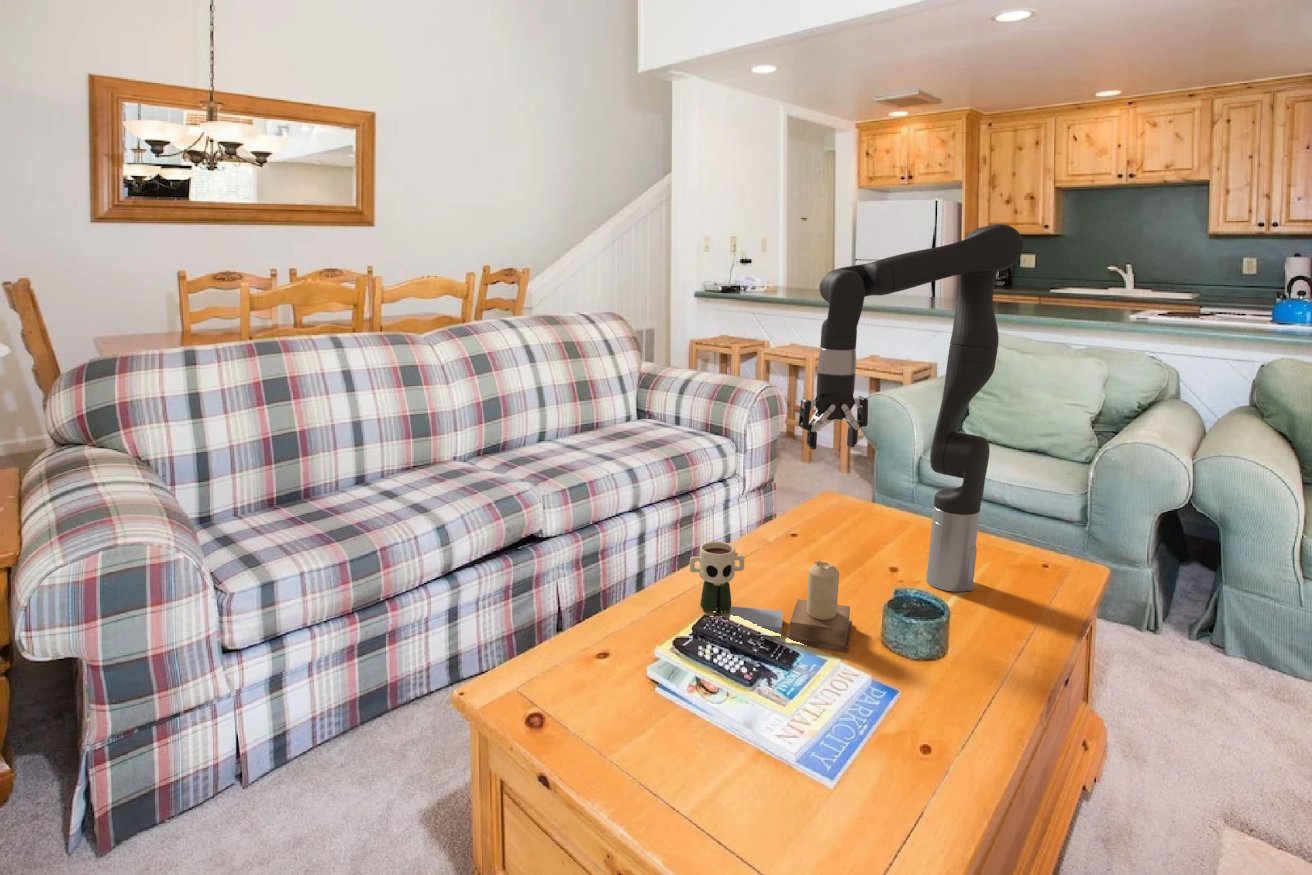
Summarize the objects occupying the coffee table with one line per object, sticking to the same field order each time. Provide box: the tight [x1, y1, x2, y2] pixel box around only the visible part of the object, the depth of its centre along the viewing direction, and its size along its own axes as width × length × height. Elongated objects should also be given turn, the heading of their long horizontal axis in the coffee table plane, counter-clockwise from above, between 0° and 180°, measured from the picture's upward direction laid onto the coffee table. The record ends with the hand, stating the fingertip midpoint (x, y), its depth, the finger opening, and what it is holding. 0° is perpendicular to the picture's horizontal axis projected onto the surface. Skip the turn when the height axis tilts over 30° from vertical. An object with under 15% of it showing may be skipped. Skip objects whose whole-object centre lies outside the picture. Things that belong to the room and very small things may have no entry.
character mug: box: [689, 541, 745, 613], centre depth 160 cm, size 11×7×13 cm, turn 96°
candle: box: [806, 560, 840, 620], centre depth 150 cm, size 6×6×10 cm
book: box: [729, 605, 784, 634], centre depth 154 cm, size 10×7×2 cm
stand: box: [785, 598, 853, 653], centre depth 151 cm, size 11×11×4 cm
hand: (831, 447), depth 167 cm, fingers open, 8 cm apart
